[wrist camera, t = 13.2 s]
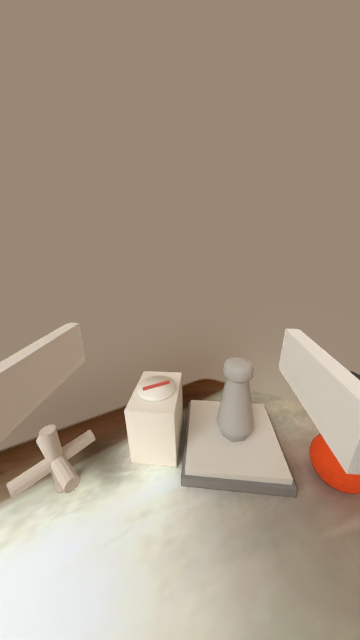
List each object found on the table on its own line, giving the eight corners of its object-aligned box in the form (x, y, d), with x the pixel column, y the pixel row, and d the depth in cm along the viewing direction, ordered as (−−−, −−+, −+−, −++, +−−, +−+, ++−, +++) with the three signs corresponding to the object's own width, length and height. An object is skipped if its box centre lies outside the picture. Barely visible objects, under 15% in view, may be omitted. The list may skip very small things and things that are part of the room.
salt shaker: (238, 414, 37) (244, 349, 33) (260, 440, 32) (269, 367, 28) (209, 423, 36) (211, 356, 32) (227, 452, 30) (232, 376, 26)
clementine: (391, 509, 26) (409, 467, 23) (344, 524, 24) (360, 482, 22) (332, 451, 33) (342, 415, 31) (295, 460, 32) (302, 424, 29)
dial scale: (125, 480, 30) (116, 419, 26) (151, 405, 44) (147, 360, 40) (295, 497, 27) (310, 432, 23) (264, 412, 41) (270, 364, 38)
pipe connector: (82, 441, 36) (71, 393, 33) (114, 480, 29) (104, 425, 26) (11, 490, 29) (-12, 434, 25) (33, 555, 22) (6, 492, 19)
